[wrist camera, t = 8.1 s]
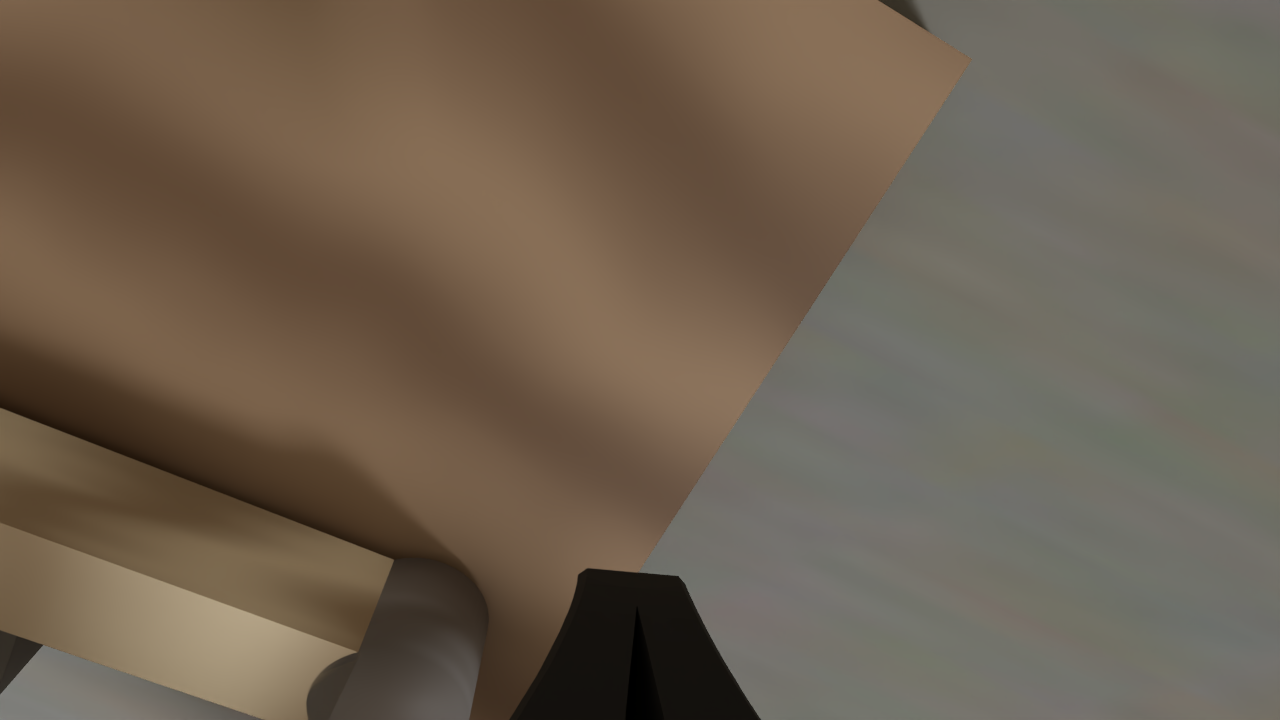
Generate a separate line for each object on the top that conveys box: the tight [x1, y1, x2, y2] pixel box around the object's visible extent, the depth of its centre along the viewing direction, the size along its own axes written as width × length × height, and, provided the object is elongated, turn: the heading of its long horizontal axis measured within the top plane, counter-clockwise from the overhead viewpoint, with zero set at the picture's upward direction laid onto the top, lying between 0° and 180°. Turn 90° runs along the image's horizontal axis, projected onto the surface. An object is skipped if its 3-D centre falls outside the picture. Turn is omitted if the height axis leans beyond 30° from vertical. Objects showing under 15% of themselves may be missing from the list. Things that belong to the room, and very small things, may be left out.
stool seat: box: [0, 0, 972, 720], centre depth 17 cm, size 20×20×5 cm
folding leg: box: [0, 408, 489, 720], centre depth 18 cm, size 15×3×3 cm, turn 63°
